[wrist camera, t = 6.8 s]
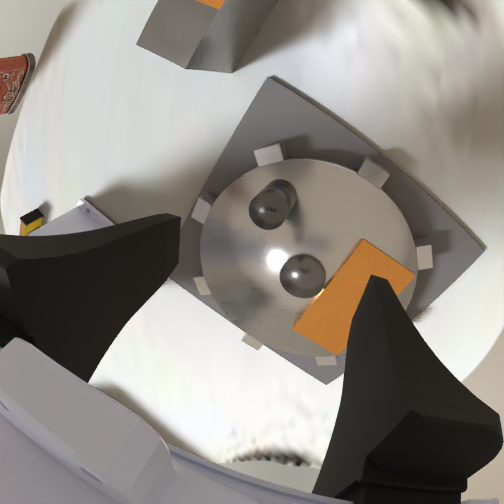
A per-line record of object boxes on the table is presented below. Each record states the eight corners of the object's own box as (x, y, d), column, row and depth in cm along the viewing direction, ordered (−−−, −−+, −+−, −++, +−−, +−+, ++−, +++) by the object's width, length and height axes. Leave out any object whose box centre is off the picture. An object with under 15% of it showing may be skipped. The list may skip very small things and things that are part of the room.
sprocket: (238, 357, 29) (220, 390, 25) (163, 178, 23) (128, 196, 19) (431, 345, 22) (436, 384, 18) (407, 114, 16) (420, 119, 12)
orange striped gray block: (190, 51, 18) (135, 44, 13) (248, -42, 14) (208, -79, 9) (232, 73, 18) (184, 69, 13) (295, -24, 14) (268, -63, 9)
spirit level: (32, 340, 49) (22, 349, 47) (27, 335, 49) (17, 344, 47) (45, 214, 31) (26, 224, 28) (39, 207, 31) (19, 217, 28)
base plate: (162, 269, 28) (160, 271, 27) (268, 77, 18) (267, 76, 17) (326, 382, 28) (326, 385, 27) (483, 248, 18) (484, 251, 17)
